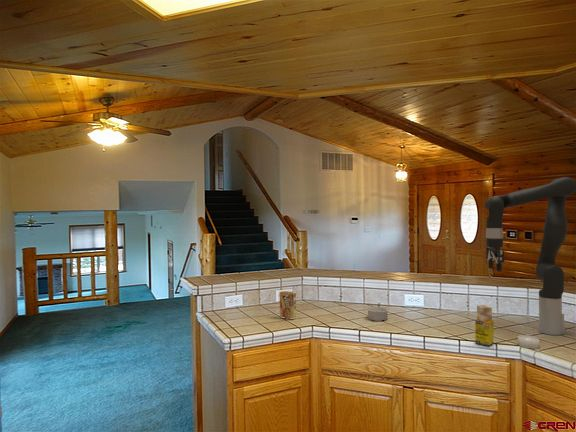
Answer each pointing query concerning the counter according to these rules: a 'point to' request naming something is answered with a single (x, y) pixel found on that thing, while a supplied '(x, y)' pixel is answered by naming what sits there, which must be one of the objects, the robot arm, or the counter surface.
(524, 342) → the white rounded lump
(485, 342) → the supplement box
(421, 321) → the counter surface
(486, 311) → the beech block
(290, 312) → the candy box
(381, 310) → the saucepan
